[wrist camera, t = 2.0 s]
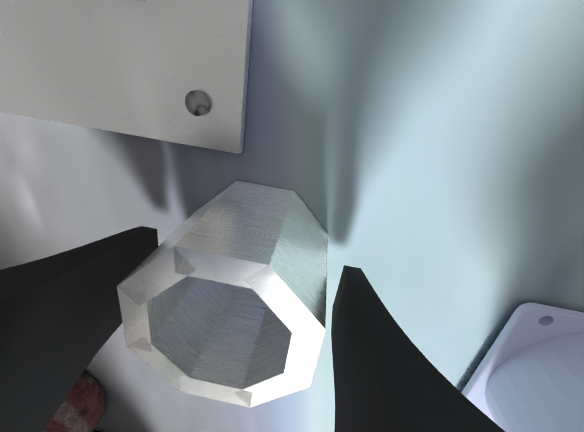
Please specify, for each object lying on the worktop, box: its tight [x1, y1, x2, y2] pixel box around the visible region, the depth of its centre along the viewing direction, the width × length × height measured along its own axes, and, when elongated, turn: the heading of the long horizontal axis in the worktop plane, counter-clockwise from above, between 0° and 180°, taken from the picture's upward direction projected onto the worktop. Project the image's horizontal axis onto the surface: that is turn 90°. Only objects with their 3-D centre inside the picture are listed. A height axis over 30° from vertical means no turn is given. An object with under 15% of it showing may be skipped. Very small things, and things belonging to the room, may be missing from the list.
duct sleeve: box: [117, 180, 328, 407], centre depth 10 cm, size 6×6×5 cm
